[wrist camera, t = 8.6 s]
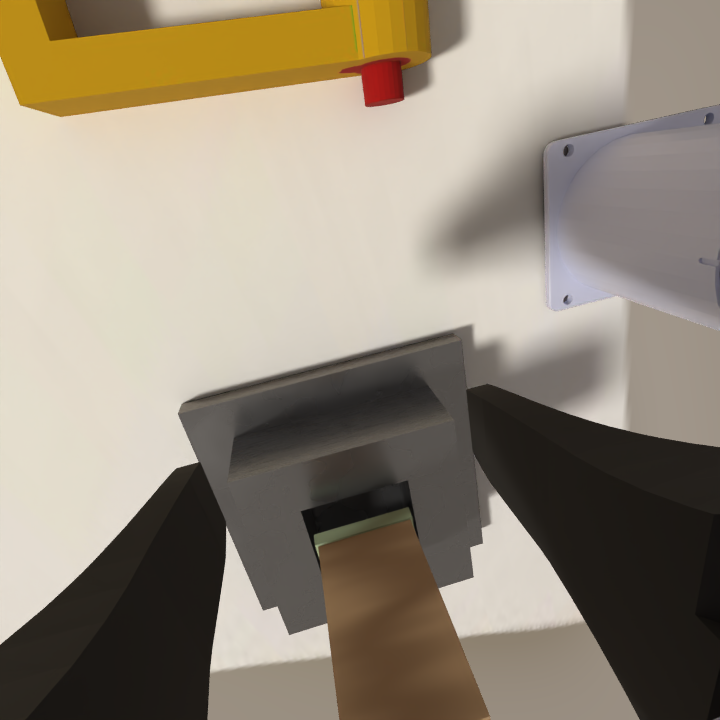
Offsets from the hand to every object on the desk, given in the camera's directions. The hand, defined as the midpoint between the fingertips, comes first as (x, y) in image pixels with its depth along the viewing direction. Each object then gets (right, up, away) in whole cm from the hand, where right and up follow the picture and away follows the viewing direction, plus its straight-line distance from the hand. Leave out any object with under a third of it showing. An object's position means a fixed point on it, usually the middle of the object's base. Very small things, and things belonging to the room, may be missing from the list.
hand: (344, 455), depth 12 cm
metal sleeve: (0, -4, +13) cm, 14 cm away
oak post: (+1, -6, +8) cm, 10 cm away
